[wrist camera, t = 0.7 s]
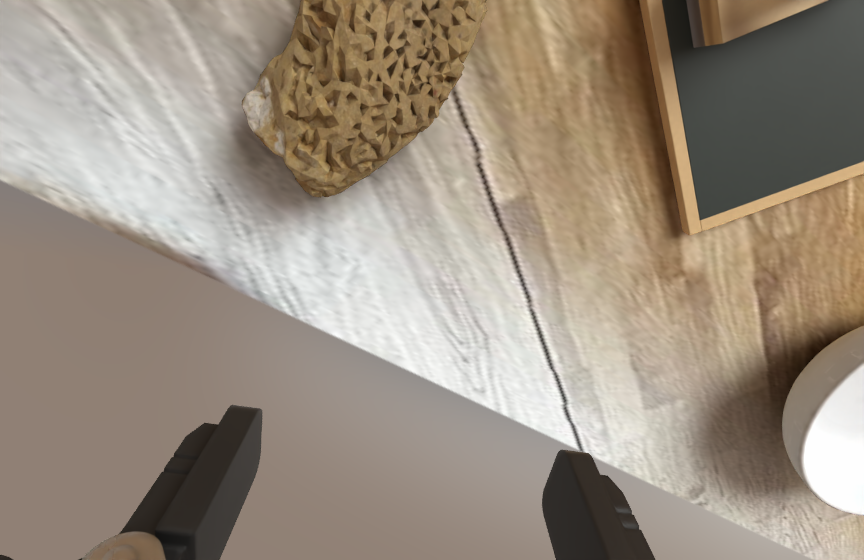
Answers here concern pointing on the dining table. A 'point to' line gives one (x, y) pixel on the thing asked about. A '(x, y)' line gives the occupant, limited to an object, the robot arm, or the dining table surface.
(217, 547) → the robot arm
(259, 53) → the dining table surface
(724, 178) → the board
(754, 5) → the eraser
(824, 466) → the serving bowl
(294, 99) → the sponge
